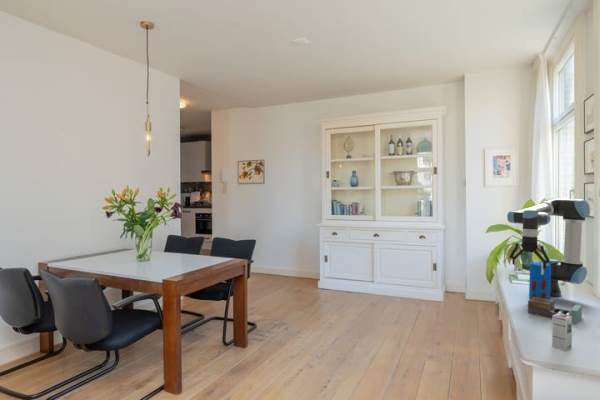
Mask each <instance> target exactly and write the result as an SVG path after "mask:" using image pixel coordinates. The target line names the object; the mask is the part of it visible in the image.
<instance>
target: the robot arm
mask: <svg viewBox="0 0 600 400" xmlns="http://www.w3.org/2000/svg"><path fill="white" fill-rule="evenodd" d="M590 214H591V207H590V204H589V203H588V201H587V200H585V199H580V198H554V199H550V200H547V201H546V200H545V201H542V202H541V203H539V204H538V205H535V206H532V207H528V208H524V209H520V210H517V211H516V210H511V211H509V212H508V213H507V215H506V217H507V218H506V219H507V221H508V223H511V224H522V238H521V243H519V242H517V243H515V247H514V248H513V250H512V251H511V253H510V255H509V256H508V257H509V258H510V259H511V260H512V265H513V266H514V267H513V268H514V271H515V272H516V271H518V259H517V258H518V257H519V256H521V255H522V254H523V253H524V252H525V253H526V252H527V253H534V254H535V255H536V256H537V257H538V258H539V259H540V260H538V261H537V263H541V275H543V274H544V269H546V264H550V265H551V284H550V297H561V296H562V290H561V287H560V285H559V282H564V283H569V284H575V285H580V284H583V282H585V280H586V278H587V275H588V270H587V267H585V266H584V263H583V262H582V260H581V253H582V251H581V250H582V232H583V231H582V230H583V229H582V228H583V223H584V222H585V221H586V219H587V218H589V216H590ZM551 216H555V217H562V220H563V221H564V224H565V225H564V227H565V228H564V245H563V259H561V260H559V259H550V258H549V255H548V254H547V252H546V250H545V246H544V245H538V235H539V234H538V232H539V231H538V230H539V229H538V228H539V226H547V225H548V224H549V223H550V222H551ZM520 247H521V248H522V249H521V250H520V251H519V252H518V253H517V251H518V249H519V248H520ZM537 249H539V250H540V251H541V253H542V254H541V253H540V252H539V251H538V250H537ZM515 253H516V254H515Z"/></svg>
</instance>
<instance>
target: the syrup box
mask: <svg viewBox="0 0 600 400" xmlns="http://www.w3.org/2000/svg"><path fill="white" fill-rule="evenodd" d="M551 319H552V323H551V324H552V326H551V327H552V328H551V329H552V332H551V333H552V334H551V335H552V336H551V337H552V339H551V342H552V343H551V346H552V347H553V348H555V349H558V350H561V351H566V352H568V351H569V350H571V349H572V343H573V342H572V338H573V337H572V335H573V333H572V330H573V328H572V326H573V325H572V324H573V323H572V316H569V315H566V314H561V313H557V314H555V315H553V316H552V318H551Z"/></svg>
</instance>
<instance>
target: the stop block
mask: <svg viewBox="0 0 600 400" xmlns="http://www.w3.org/2000/svg"><path fill="white" fill-rule="evenodd" d="M582 306H583V305H580V304H575V305H574V306H573V307H572V308H570V311H571V316H572V324H574V325H577V324H578V323H579V322H580V321H581V319H582V314H583V313H582V312H583V311H582V310H583V309H582V308H583V307H582Z"/></svg>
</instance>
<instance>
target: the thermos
mask: <svg viewBox="0 0 600 400" xmlns="http://www.w3.org/2000/svg"><path fill="white" fill-rule="evenodd" d="M529 264H530V265H529V284H528V285H529V288H528V289H529V291H528V292H529V293H528V297H529V298H528V300H530V299H531V298H533V297H539V298H544V299H549V300H551V296H550V284H551V265H550V264H546V269H544V274H543V275H541V263H538V261H537V262H530V263H529Z"/></svg>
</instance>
